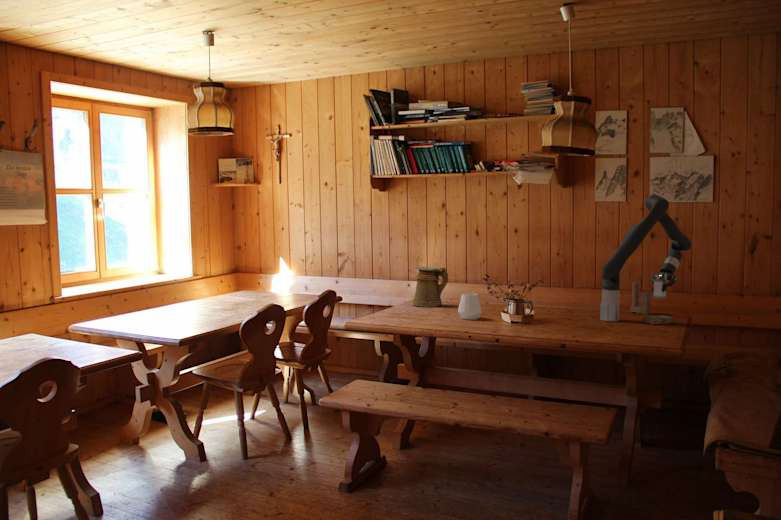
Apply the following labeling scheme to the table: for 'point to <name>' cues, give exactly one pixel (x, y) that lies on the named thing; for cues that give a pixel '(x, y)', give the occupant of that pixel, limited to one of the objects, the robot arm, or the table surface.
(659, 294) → the housing
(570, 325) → the table surface
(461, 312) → the cup
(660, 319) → the stand
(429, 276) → the tankard
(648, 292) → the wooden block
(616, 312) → the robot arm
